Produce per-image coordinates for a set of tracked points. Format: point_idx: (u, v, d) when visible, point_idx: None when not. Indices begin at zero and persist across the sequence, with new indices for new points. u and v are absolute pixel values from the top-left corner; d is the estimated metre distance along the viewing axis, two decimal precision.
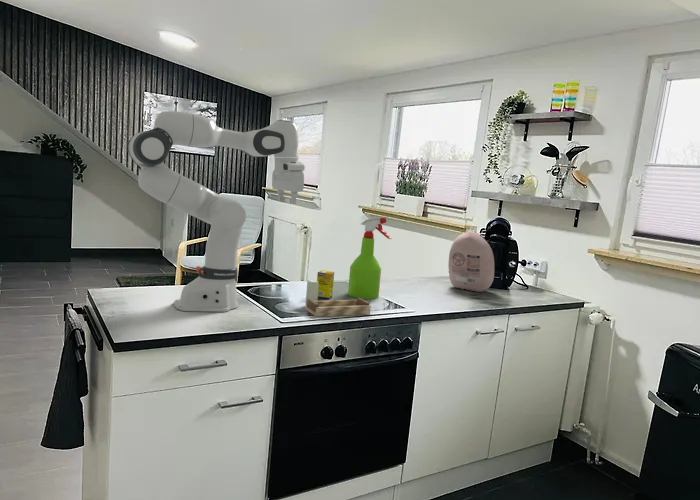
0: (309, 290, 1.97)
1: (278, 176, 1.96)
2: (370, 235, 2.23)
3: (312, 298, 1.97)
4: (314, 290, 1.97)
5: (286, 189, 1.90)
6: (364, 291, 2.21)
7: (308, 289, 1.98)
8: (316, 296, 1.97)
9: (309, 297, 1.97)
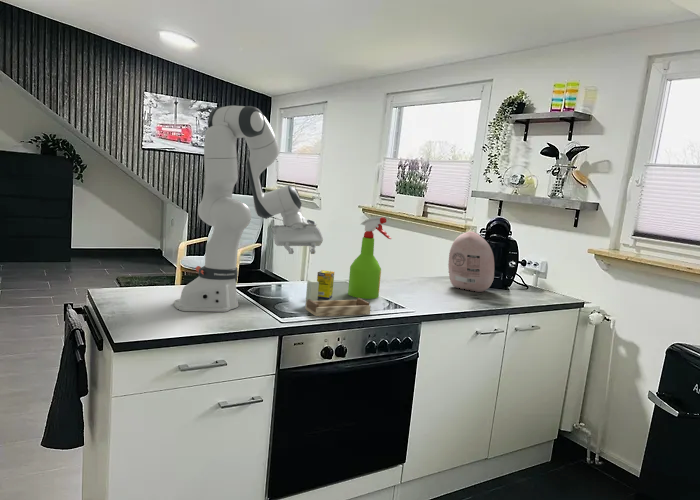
0: (309, 290, 1.97)
1: (289, 231, 2.10)
2: (370, 235, 2.23)
3: (312, 298, 1.97)
4: (314, 290, 1.97)
5: (308, 239, 2.11)
6: (364, 291, 2.21)
7: (308, 289, 1.98)
8: (316, 296, 1.97)
9: (309, 297, 1.97)
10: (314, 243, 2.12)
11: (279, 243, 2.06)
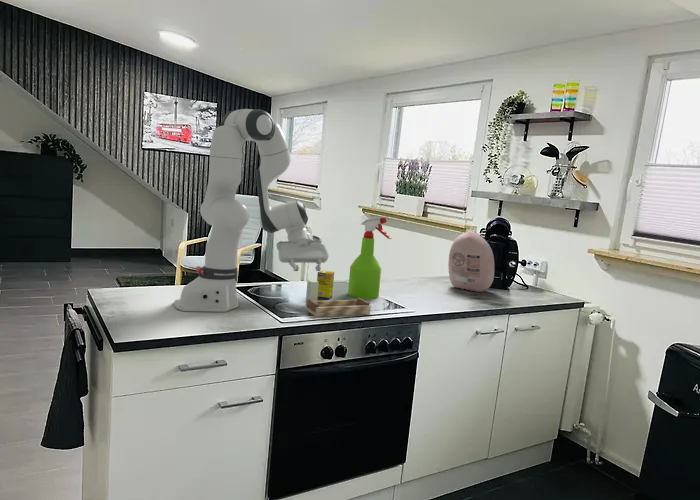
0: (309, 290, 1.97)
1: (293, 247, 2.05)
2: (370, 235, 2.23)
3: (312, 298, 1.97)
4: (314, 290, 1.97)
5: (313, 256, 2.06)
6: (364, 291, 2.21)
7: (308, 289, 1.98)
8: (316, 296, 1.97)
9: (309, 297, 1.97)
10: (319, 260, 2.07)
11: (283, 260, 2.01)
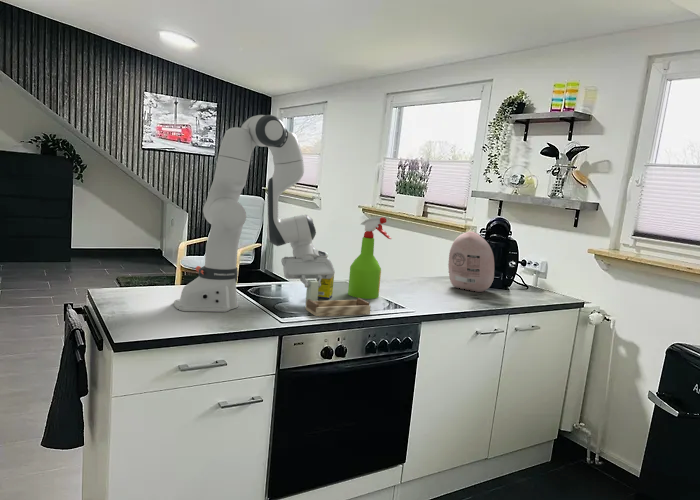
0: (309, 290, 1.97)
1: (299, 263, 2.00)
2: (370, 235, 2.23)
3: (312, 298, 1.97)
4: (314, 289, 1.97)
5: (319, 272, 2.01)
6: (364, 291, 2.21)
7: (308, 289, 1.98)
8: (316, 296, 1.97)
9: (309, 297, 1.97)
10: (320, 276, 2.01)
11: (288, 276, 1.96)
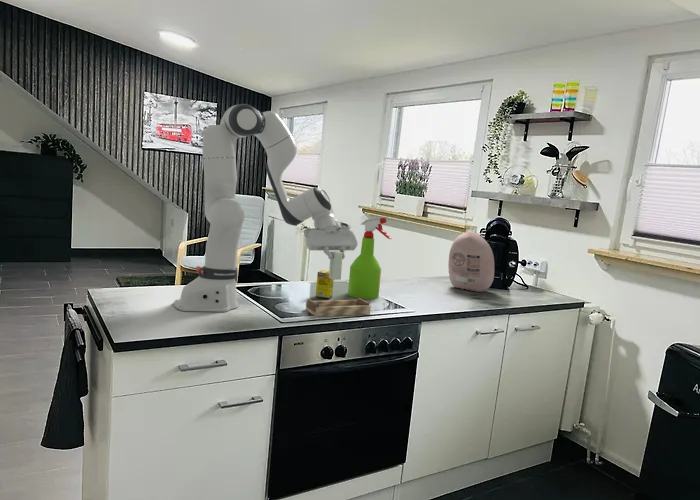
0: (333, 261, 1.93)
1: (322, 234, 1.95)
2: (370, 235, 2.23)
3: (336, 269, 1.93)
4: (338, 261, 1.92)
5: (342, 243, 1.97)
6: (364, 291, 2.21)
7: (332, 261, 1.94)
8: (340, 267, 1.93)
9: (333, 269, 1.93)
10: (343, 247, 1.96)
11: (312, 248, 1.92)
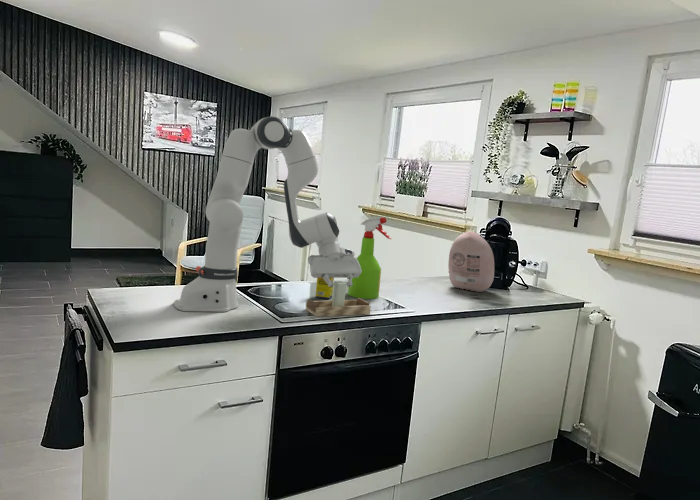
0: (336, 292, 1.92)
1: (326, 262, 1.95)
2: (370, 235, 2.23)
3: (339, 300, 1.92)
4: (341, 291, 1.92)
5: (346, 271, 1.96)
6: (364, 291, 2.21)
7: (335, 291, 1.93)
8: (343, 298, 1.93)
9: (336, 299, 1.92)
10: (351, 275, 1.97)
11: (315, 275, 1.91)
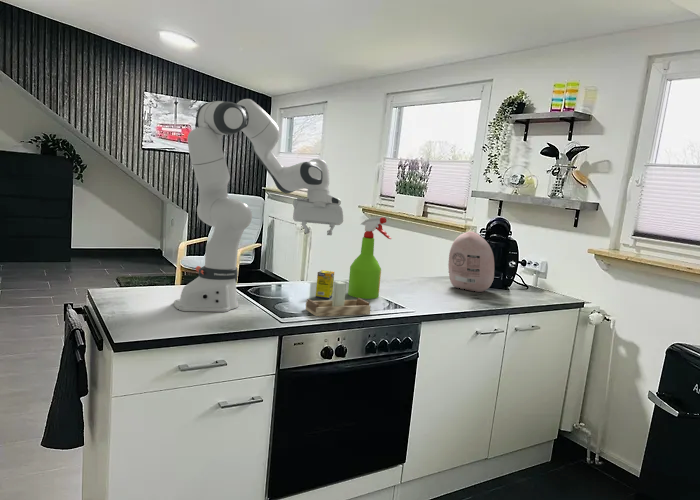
0: (336, 292, 1.92)
1: (310, 208, 2.03)
2: (370, 235, 2.23)
3: (339, 300, 1.92)
4: (341, 291, 1.92)
5: (328, 220, 2.05)
6: (364, 291, 2.21)
7: (335, 291, 1.93)
8: (343, 298, 1.93)
9: (336, 299, 1.92)
10: (333, 224, 2.07)
11: (296, 220, 2.02)
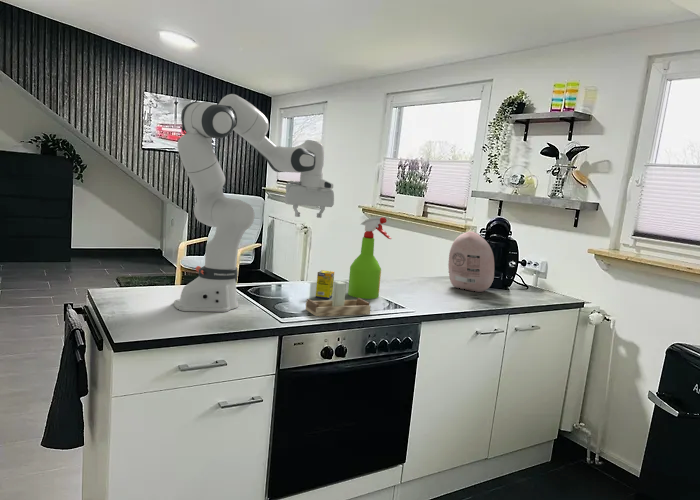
0: (336, 292, 1.92)
1: (302, 192, 2.04)
2: (370, 235, 2.23)
3: (339, 300, 1.92)
4: (341, 291, 1.92)
5: (318, 204, 2.08)
6: (364, 291, 2.21)
7: (335, 291, 1.93)
8: (343, 298, 1.93)
9: (336, 299, 1.92)
10: (323, 208, 2.10)
11: None
